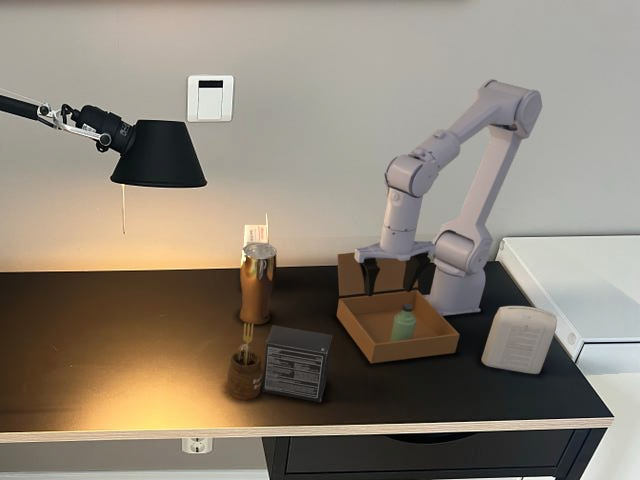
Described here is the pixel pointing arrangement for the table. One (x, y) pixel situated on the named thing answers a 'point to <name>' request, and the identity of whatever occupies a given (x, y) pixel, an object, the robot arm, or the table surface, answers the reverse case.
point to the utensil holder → (245, 371)
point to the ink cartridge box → (256, 234)
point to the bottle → (403, 324)
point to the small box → (296, 363)
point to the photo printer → (519, 339)
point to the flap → (385, 281)
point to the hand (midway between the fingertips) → (387, 291)
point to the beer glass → (257, 281)
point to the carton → (377, 321)
